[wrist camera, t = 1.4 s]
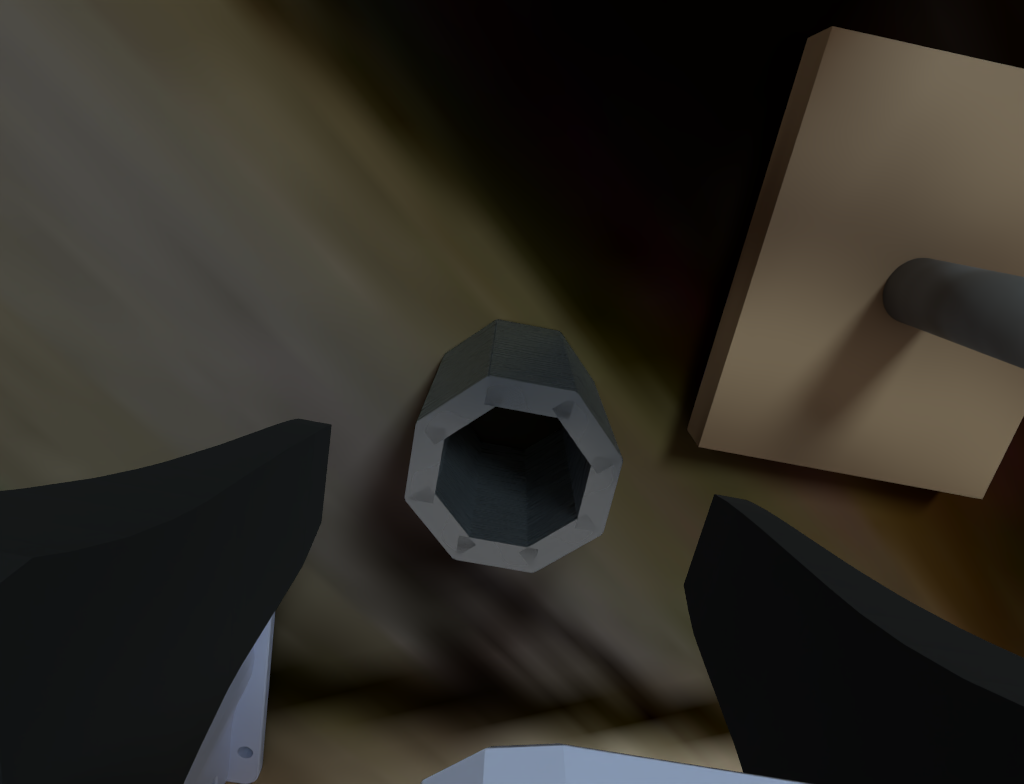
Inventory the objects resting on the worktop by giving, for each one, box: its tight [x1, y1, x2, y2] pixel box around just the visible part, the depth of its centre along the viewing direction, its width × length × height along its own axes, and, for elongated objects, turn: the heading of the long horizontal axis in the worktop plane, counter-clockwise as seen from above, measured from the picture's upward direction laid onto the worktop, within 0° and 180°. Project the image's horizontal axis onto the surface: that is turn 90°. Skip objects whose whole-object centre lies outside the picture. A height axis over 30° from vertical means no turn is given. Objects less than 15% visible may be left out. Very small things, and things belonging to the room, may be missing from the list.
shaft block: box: [687, 26, 1024, 499], centre depth 14 cm, size 10×8×6 cm
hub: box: [405, 319, 623, 573], centre depth 15 cm, size 4×4×5 cm
